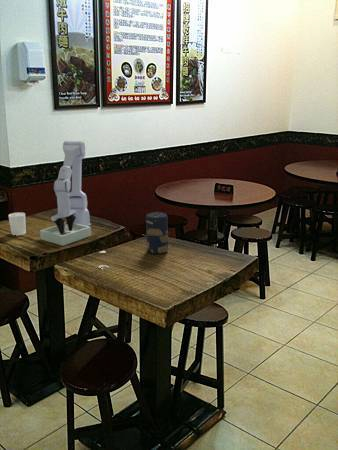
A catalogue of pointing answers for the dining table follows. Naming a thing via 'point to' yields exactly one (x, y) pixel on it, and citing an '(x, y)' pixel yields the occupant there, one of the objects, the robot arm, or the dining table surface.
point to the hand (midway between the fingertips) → (65, 231)
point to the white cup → (17, 223)
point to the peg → (66, 229)
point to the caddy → (74, 235)
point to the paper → (102, 265)
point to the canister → (157, 232)
